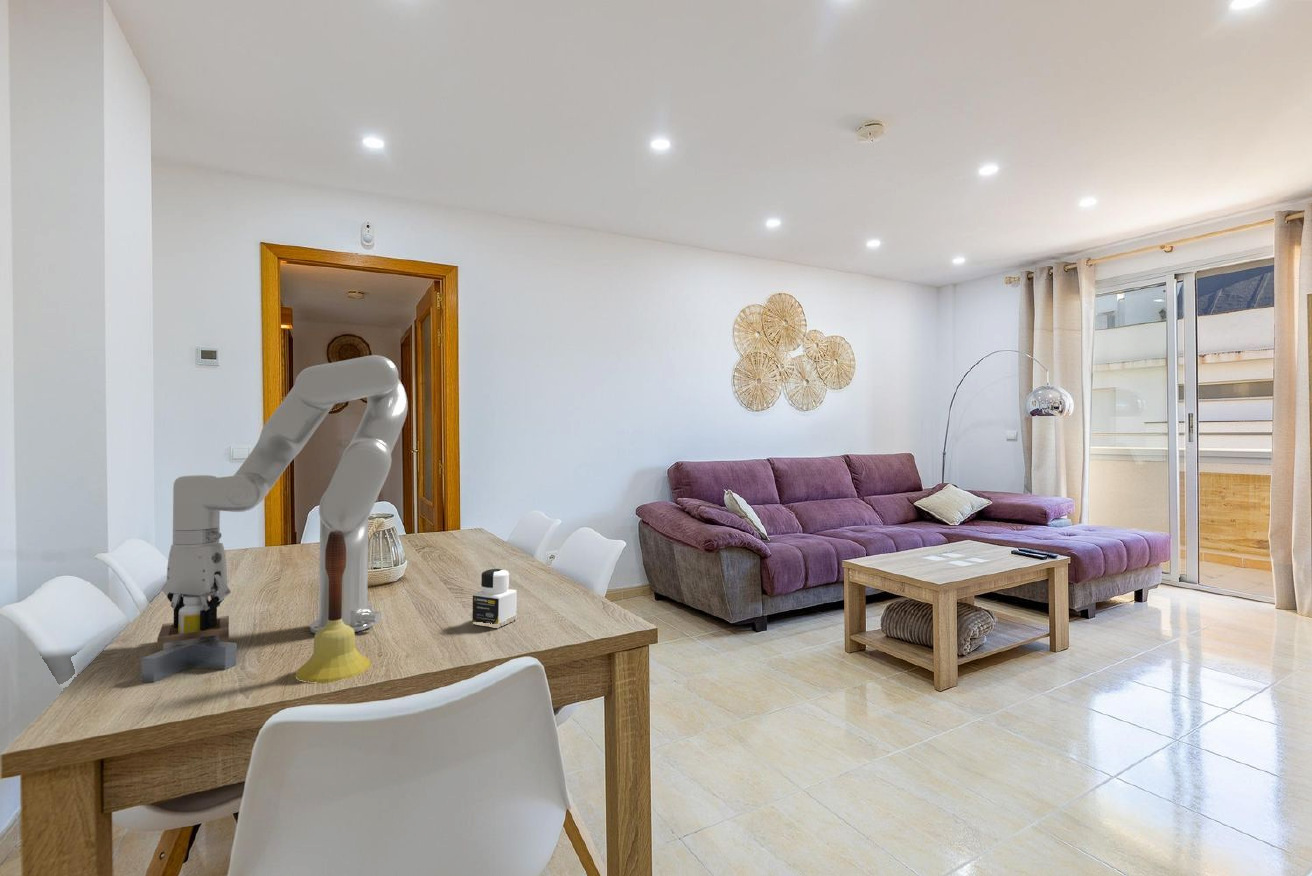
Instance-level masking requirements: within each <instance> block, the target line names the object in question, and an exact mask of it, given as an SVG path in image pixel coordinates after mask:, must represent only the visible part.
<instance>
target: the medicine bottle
mask: <svg viewBox="0 0 1312 876" xmlns="http://www.w3.org/2000/svg"><path fill="white" fill-rule="evenodd" d="M509 581H510V573H509V571H508V570H506V569H502V568H491V569H486V570H484V571H483V572H482V573H481V582H480V583H481V584H480V585H481V590H480V591H477V592H475V593H472V614H471V615H472V618H471V621H472V622H483V623H490V624H491V623H492V624H499V623H501V622H504V621H506V620H507V619H509V618H511V617H513V616H515V615H516V616H517V601H518V600H517V599H518V597H517V596H518V595H517V593H518V592H517V590H516V589H511V588H510V589H509V587H510V583H509Z"/></svg>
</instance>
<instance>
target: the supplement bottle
mask: <svg viewBox="0 0 1312 876" xmlns="http://www.w3.org/2000/svg"><path fill="white" fill-rule="evenodd" d="M183 602H184V603H183V604H185V606H184V607H182V608H181V609H180V610H179V623H178V634H183V633H190V632H197V631H202V630H200V611H201V610H204V609H203V606H202V603H201V599H200V596H196V595H186V596H184V598H183ZM207 630H212V628H210V629H207ZM204 631H205V630H204Z"/></svg>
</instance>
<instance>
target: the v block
mask: <svg viewBox="0 0 1312 876" xmlns="http://www.w3.org/2000/svg"><path fill="white" fill-rule="evenodd" d="M237 645H238V644H237V642H231V641H230V642H218V635H214V636H208V637H201V638H194V639H188V640H181V641H174V642H167V643H164V645H163V650H162V651H159V652H157V651H156V652H155V653H152V654H148V655H145V656H143V657H141V682H146V683H155V682H158V681H160V680H163V679H165V678H167V677H170V676H174V675H175V674H178V673H180V672H183V671H185V670H187V669H190V668H198V669H210V670H211V669H214V670H225V671H226V670H228V669H230V668H233V667H235V666H236V665H237V655H238V653H237V647H238V646H237ZM234 665H235V666H234Z"/></svg>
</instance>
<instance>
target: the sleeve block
mask: <svg viewBox="0 0 1312 876" xmlns="http://www.w3.org/2000/svg"><path fill="white" fill-rule="evenodd" d="M229 622H230V615H222V616H221V615H220V616H217V625H216V627H213V628H212V630H205V631H197V632H190V633H183V634H178V628H174V627H173V625H174V622H168V623H167V622H166V623H162V625H161V628H160V629H159V630H160V631H159V632H158V636H157V639H156V640H157V641H156V642H157V645H156V653H157V652H159V651H162V650H163V645H164V643H167V642H174V641H181V640H188V639H194V638H201V637H208V636H214V635H218V642H229V637H230V636H229V634H230V632H229V631H230V625H229V624H230V623H229Z"/></svg>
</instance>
